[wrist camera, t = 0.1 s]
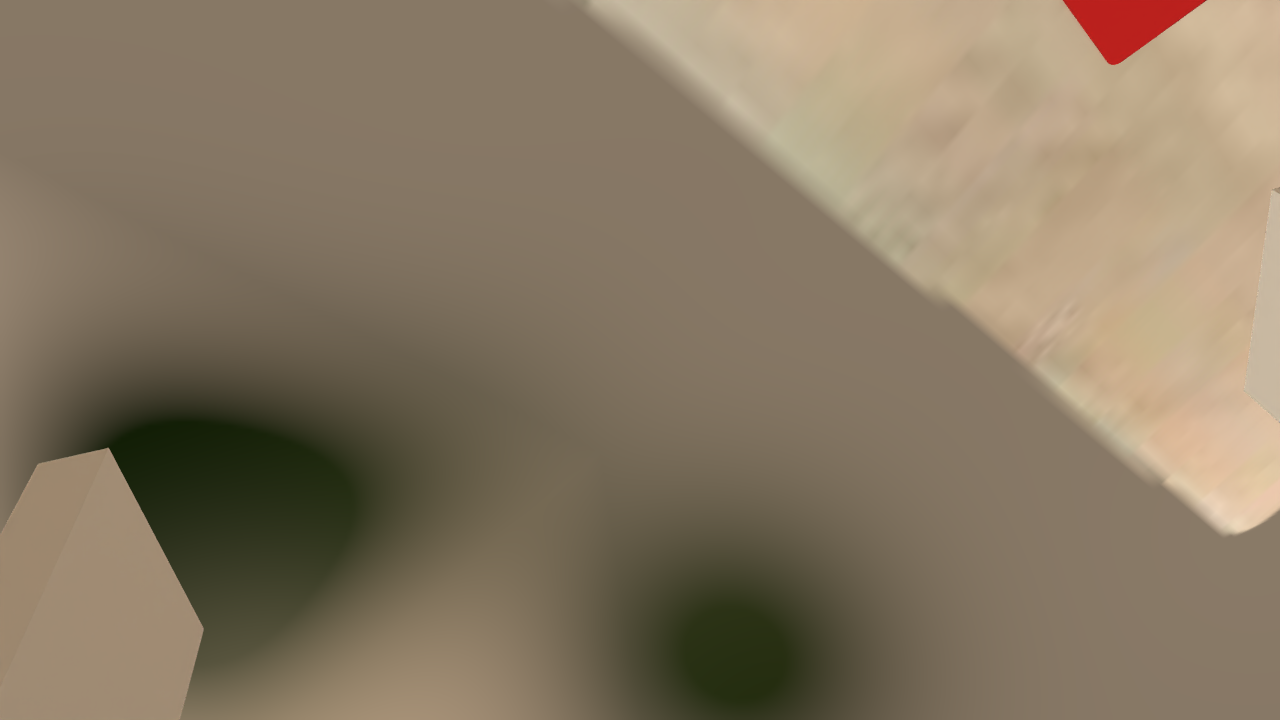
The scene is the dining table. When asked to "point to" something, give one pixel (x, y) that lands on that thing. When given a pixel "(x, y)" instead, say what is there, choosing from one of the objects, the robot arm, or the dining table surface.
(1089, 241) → the dining table surface
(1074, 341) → the dining table surface
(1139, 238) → the dining table surface
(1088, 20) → the electronic device
